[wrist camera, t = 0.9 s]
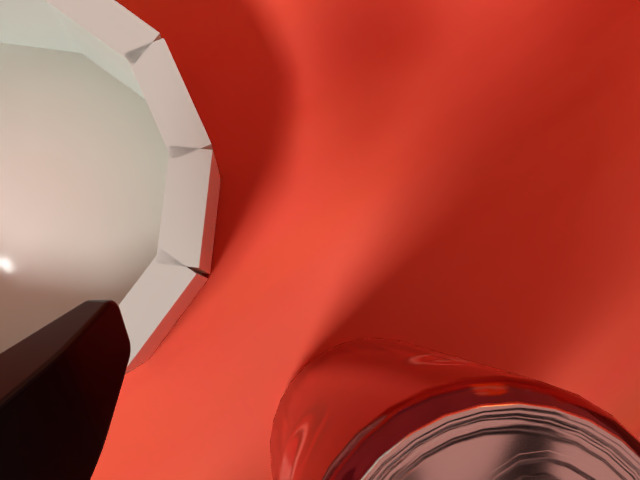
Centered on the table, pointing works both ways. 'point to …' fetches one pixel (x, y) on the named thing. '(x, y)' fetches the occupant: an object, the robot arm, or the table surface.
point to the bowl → (98, 172)
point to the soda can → (438, 422)
